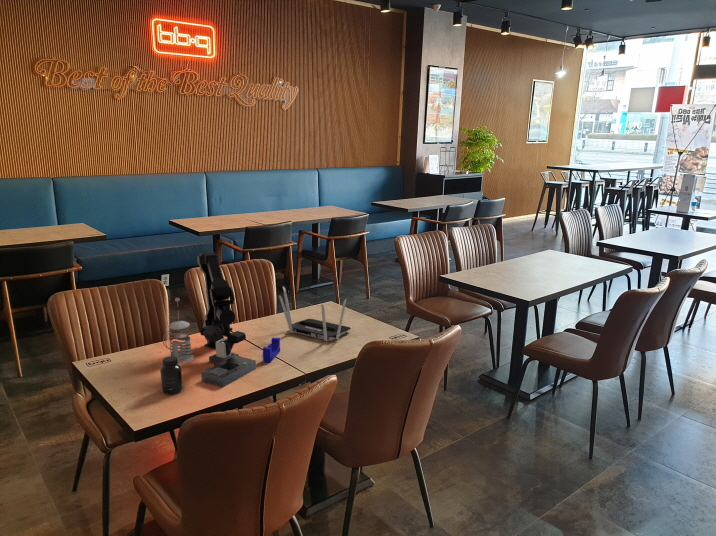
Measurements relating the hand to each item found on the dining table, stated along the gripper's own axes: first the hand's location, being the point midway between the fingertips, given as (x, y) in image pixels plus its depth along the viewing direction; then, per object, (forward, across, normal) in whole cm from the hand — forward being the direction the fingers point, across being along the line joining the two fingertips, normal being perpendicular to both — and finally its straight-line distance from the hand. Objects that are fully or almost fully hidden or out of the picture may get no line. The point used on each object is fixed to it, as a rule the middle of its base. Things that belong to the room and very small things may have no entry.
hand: (223, 354), depth 218 cm
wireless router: (+3, +15, +43) cm, 45 cm away
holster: (+2, 0, 0) cm, 2 cm away
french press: (+3, -16, -8) cm, 18 cm away
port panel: (+2, +11, -9) cm, 14 cm away
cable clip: (+3, +13, +12) cm, 18 cm away
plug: (+2, 0, 0) cm, 2 cm away
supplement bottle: (+3, +3, -29) cm, 29 cm away
